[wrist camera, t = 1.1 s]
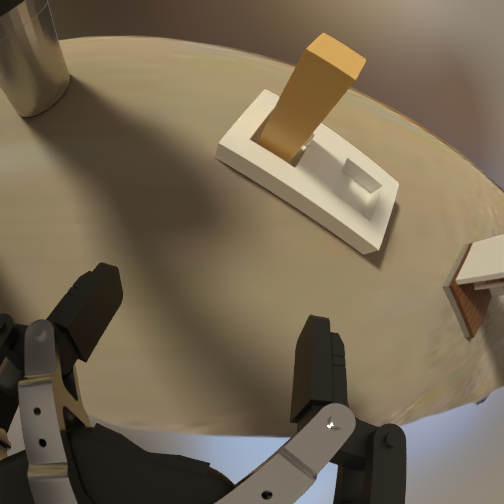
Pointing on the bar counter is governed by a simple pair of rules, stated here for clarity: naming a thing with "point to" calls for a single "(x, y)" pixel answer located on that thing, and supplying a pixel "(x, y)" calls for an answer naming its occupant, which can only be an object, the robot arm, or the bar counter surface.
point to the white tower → (476, 281)
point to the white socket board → (316, 177)
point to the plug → (310, 95)
